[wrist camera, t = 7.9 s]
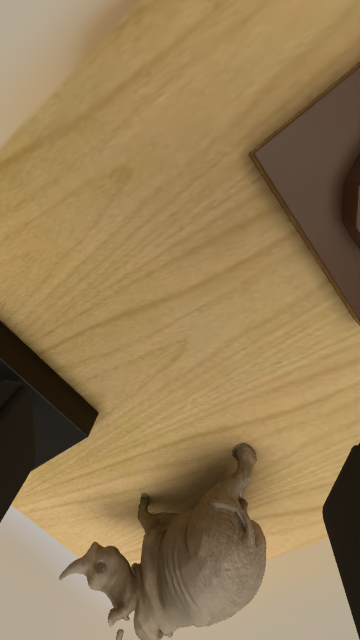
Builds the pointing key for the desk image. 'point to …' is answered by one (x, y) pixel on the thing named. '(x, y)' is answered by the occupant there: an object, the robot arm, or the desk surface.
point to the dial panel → (46, 399)
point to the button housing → (322, 181)
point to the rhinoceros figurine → (185, 562)
